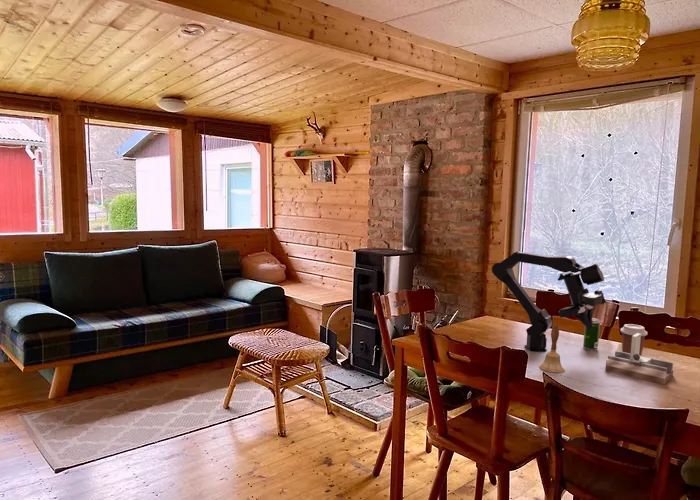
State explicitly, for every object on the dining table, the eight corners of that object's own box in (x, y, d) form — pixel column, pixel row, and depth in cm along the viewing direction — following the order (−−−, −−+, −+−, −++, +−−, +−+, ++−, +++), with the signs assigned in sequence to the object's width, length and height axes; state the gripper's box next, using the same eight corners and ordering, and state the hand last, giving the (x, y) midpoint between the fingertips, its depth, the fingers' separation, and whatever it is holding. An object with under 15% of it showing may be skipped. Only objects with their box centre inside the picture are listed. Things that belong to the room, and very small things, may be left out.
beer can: (600, 349, 207) (602, 319, 205) (593, 351, 203) (596, 321, 202) (587, 345, 211) (589, 317, 209) (580, 348, 207) (582, 318, 206)
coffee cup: (616, 352, 203) (618, 322, 202) (642, 355, 200) (645, 324, 199) (620, 359, 194) (622, 327, 193) (647, 362, 191) (650, 330, 190)
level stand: (605, 370, 181) (606, 356, 180) (616, 362, 190) (617, 349, 189) (663, 384, 169) (665, 369, 168) (672, 375, 177) (674, 361, 177)
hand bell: (563, 366, 184) (567, 322, 182) (565, 374, 176) (568, 328, 174) (539, 363, 187) (542, 320, 185) (539, 371, 179) (542, 325, 177)
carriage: (626, 369, 176) (629, 337, 175) (634, 363, 182) (637, 333, 181) (642, 373, 172) (645, 341, 171) (650, 367, 179) (653, 336, 178)
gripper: (574, 291, 183) (589, 334, 181) (610, 278, 191) (625, 319, 189) (551, 296, 193) (566, 336, 191) (586, 283, 201) (600, 322, 199)
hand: (590, 328), depth 192 cm, fingers closed
